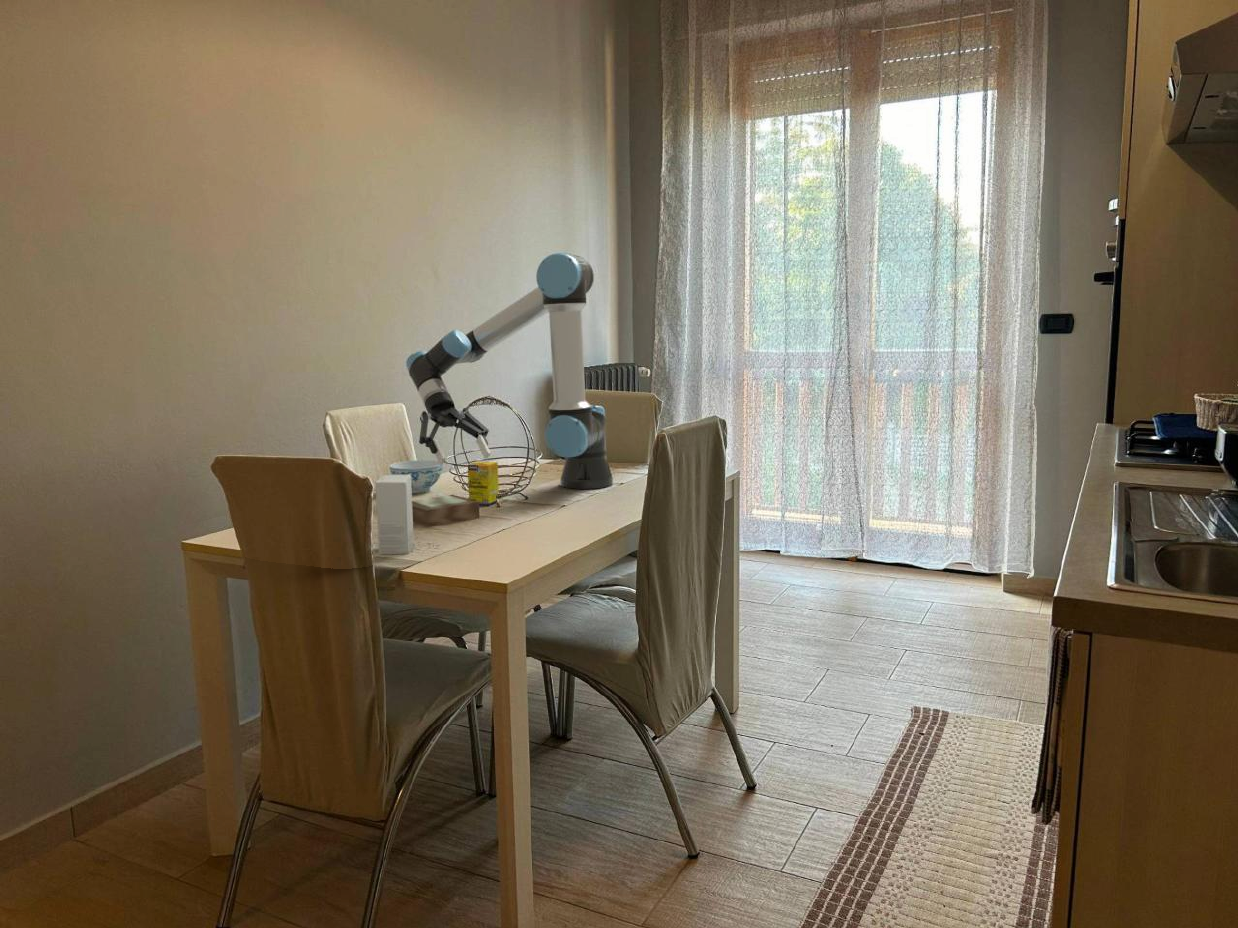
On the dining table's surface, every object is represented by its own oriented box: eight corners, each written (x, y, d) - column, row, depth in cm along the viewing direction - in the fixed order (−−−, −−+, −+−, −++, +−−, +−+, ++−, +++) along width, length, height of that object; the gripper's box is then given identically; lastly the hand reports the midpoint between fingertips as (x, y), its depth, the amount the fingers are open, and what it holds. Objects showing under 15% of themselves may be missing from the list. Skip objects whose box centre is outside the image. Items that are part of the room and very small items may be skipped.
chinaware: (404, 498, 253) (402, 470, 251) (382, 490, 265) (381, 464, 263) (453, 491, 261) (452, 464, 260) (430, 484, 273) (429, 458, 272)
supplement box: (468, 505, 241) (466, 464, 239) (479, 501, 246) (477, 460, 244) (489, 506, 239) (487, 465, 237) (499, 502, 244) (497, 461, 242)
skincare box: (385, 545, 199) (381, 474, 197) (416, 544, 199) (412, 473, 197) (378, 555, 191) (373, 481, 188) (410, 554, 191) (406, 480, 189)
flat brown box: (453, 510, 235) (452, 493, 234) (479, 517, 225) (478, 500, 224) (402, 518, 226) (401, 501, 226) (427, 526, 216) (426, 509, 216)
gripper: (472, 404, 265) (501, 462, 256) (391, 411, 250) (418, 472, 241) (480, 387, 260) (510, 445, 251) (398, 393, 245) (427, 455, 236)
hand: (465, 458), depth 246 cm, fingers open, 13 cm apart
